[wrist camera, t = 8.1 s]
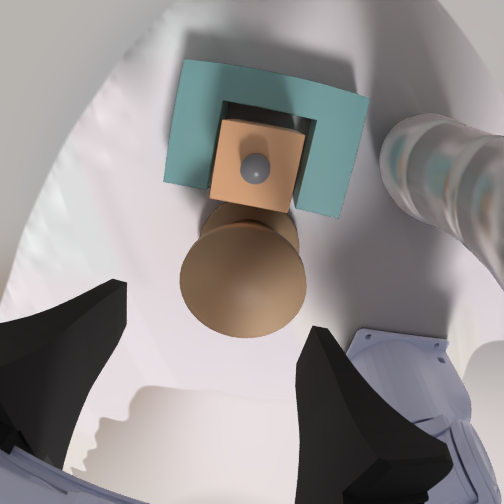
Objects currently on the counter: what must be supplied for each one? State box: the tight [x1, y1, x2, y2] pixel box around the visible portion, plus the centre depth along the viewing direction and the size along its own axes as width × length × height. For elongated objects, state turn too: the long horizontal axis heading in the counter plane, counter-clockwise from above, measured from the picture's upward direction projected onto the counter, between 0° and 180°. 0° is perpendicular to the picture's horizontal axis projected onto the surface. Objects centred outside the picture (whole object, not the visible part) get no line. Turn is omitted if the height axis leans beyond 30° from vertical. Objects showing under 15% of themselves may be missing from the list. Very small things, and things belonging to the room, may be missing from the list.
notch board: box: [163, 59, 370, 218], centre depth 17 cm, size 10×7×2 cm
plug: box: [210, 119, 305, 213], centre depth 16 cm, size 4×4×7 cm
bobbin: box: [180, 202, 307, 338], centre depth 19 cm, size 6×6×6 cm
